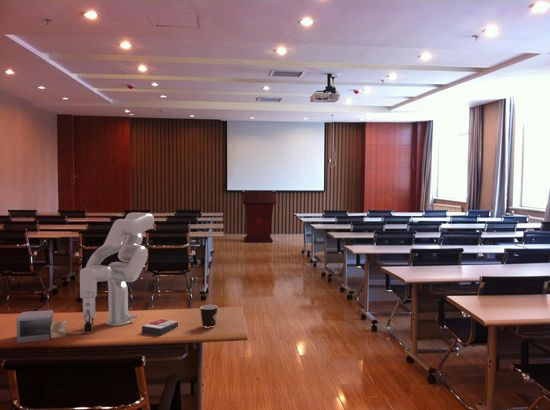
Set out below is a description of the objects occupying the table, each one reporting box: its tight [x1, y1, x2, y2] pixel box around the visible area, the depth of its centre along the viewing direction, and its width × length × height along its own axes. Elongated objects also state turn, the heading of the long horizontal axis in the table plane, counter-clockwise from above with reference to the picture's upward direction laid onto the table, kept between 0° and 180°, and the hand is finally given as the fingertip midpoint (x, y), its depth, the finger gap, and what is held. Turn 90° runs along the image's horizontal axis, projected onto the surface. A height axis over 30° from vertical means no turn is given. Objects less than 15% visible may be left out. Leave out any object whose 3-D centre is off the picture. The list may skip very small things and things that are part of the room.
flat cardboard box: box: [141, 318, 179, 337], centre depth 230 cm, size 11×4×15 cm
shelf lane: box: [15, 309, 54, 344], centre depth 218 cm, size 13×12×11 cm
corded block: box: [50, 318, 94, 339], centre depth 223 cm, size 18×6×7 cm, turn 106°
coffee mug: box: [199, 304, 218, 327], centre depth 237 cm, size 12×9×10 cm
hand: (89, 328), depth 225 cm, fingers open, 9 cm apart
